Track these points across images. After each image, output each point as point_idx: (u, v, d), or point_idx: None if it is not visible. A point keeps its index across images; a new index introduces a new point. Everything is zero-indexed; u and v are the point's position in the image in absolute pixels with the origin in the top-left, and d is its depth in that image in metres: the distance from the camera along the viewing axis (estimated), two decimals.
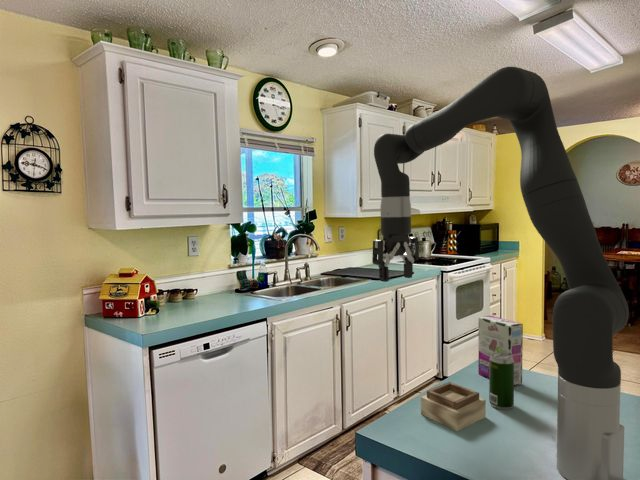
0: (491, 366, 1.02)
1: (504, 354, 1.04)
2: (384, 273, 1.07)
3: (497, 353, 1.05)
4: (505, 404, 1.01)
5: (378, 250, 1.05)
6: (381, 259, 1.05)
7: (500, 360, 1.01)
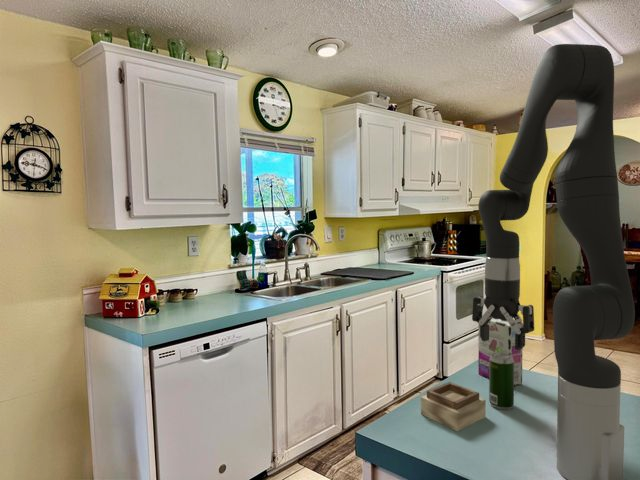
0: (491, 366, 1.02)
1: (504, 354, 1.04)
2: None
3: (497, 353, 1.05)
4: (505, 404, 1.01)
5: (533, 316, 0.97)
6: None
7: (500, 360, 1.01)
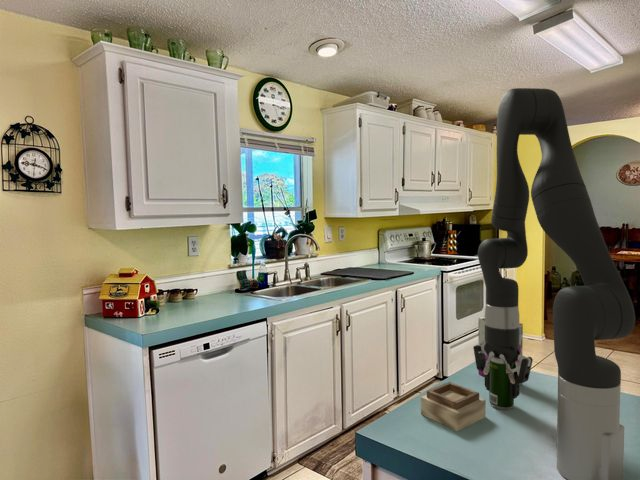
0: (491, 366, 1.02)
1: None
2: None
3: None
4: (505, 404, 1.01)
5: (530, 368, 0.98)
6: None
7: (500, 360, 1.01)
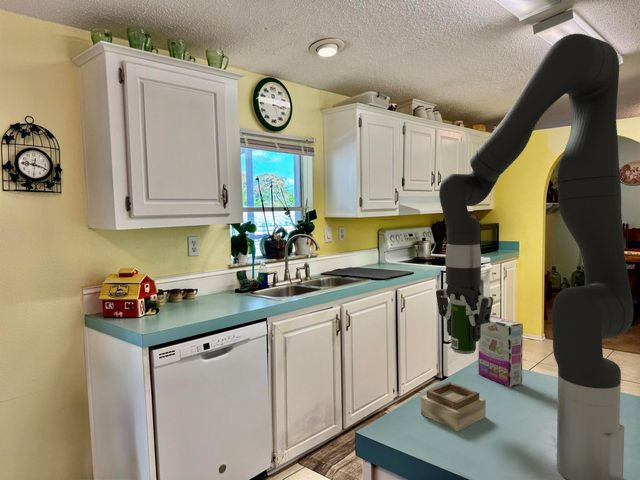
0: (452, 309, 0.98)
1: None
2: None
3: None
4: (466, 348, 0.97)
5: (490, 309, 0.94)
6: None
7: (461, 302, 0.96)
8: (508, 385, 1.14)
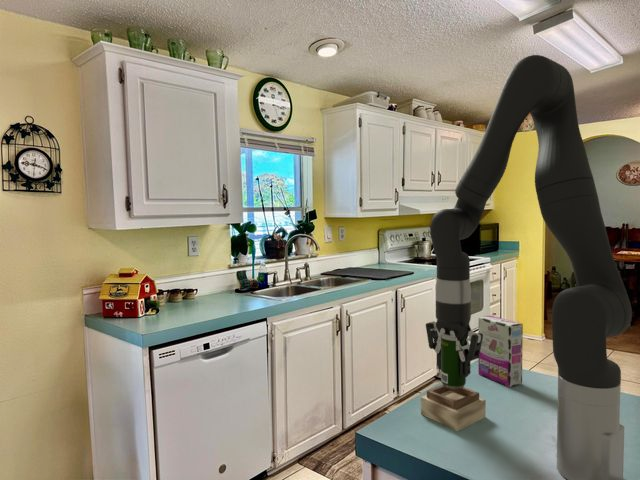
0: (442, 343, 0.98)
1: None
2: None
3: None
4: (456, 383, 0.96)
5: (480, 345, 0.93)
6: None
7: (450, 337, 0.96)
8: (508, 385, 1.14)
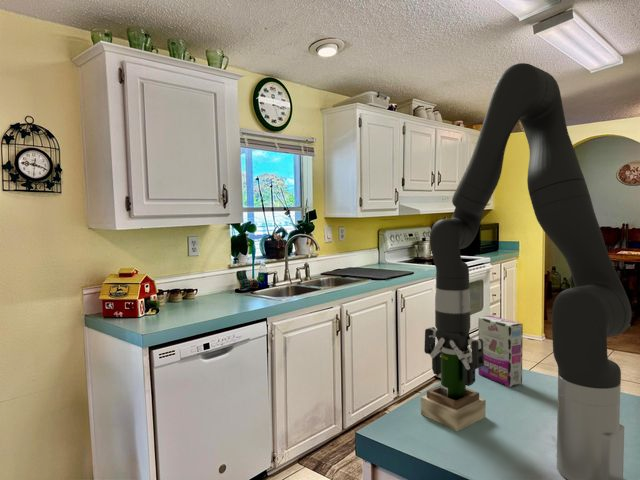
0: (442, 357, 0.98)
1: None
2: None
3: None
4: (456, 397, 0.96)
5: (482, 351, 0.93)
6: None
7: (450, 351, 0.96)
8: (508, 385, 1.14)
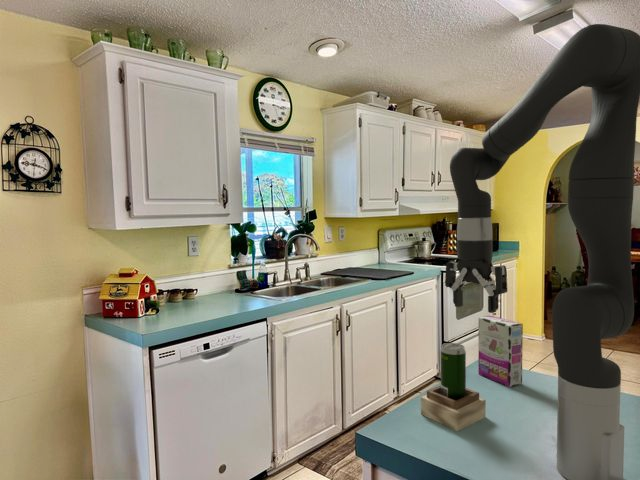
0: (442, 357, 0.98)
1: (456, 345, 0.99)
2: None
3: (449, 344, 1.00)
4: (456, 397, 0.96)
5: (505, 277, 0.94)
6: None
7: (450, 351, 0.96)
8: (508, 385, 1.14)
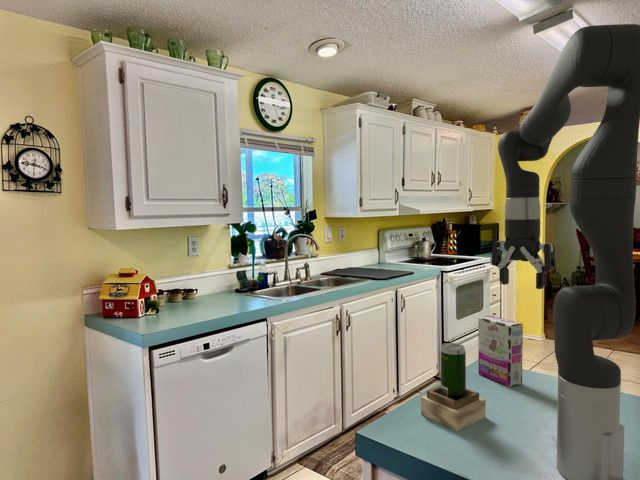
0: (442, 357, 0.98)
1: (456, 345, 0.99)
2: None
3: (449, 344, 1.00)
4: (456, 397, 0.96)
5: (554, 254, 0.97)
6: None
7: (450, 351, 0.96)
8: (508, 385, 1.14)
